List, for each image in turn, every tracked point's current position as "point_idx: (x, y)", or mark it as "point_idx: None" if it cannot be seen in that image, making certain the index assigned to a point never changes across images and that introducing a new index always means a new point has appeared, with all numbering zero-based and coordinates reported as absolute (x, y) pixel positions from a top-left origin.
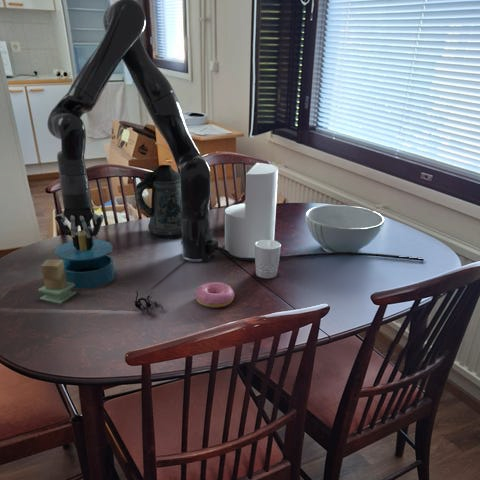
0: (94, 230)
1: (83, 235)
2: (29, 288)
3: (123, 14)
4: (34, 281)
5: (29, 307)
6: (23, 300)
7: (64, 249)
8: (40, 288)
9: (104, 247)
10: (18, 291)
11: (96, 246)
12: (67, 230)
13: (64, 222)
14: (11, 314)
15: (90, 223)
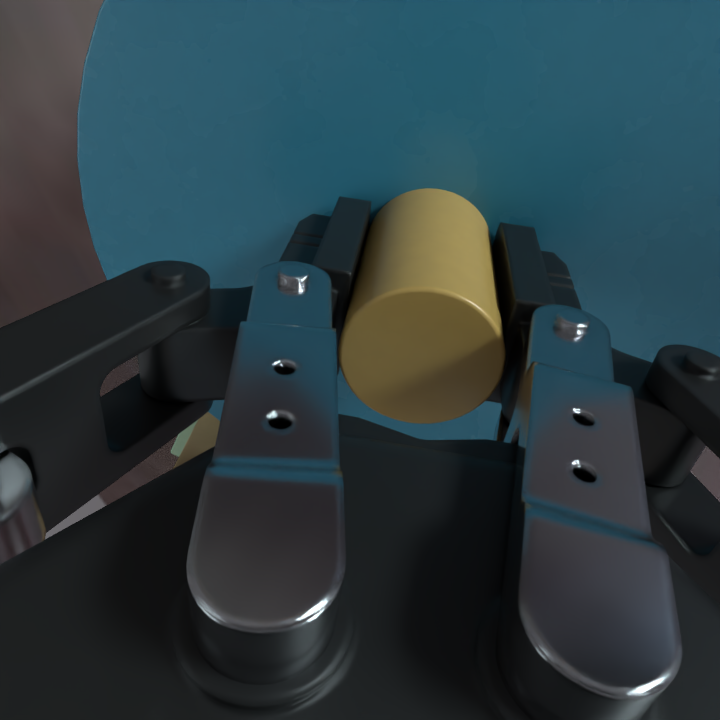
0: (662, 531)
1: (447, 414)
2: (56, 251)
3: None
4: (27, 139)
5: (171, 456)
6: (105, 390)
7: (190, 245)
8: (180, 449)
9: (701, 228)
10: (13, 284)
11: (591, 182)
12: (176, 423)
13: (45, 454)
14: (122, 496)
15: (634, 423)
